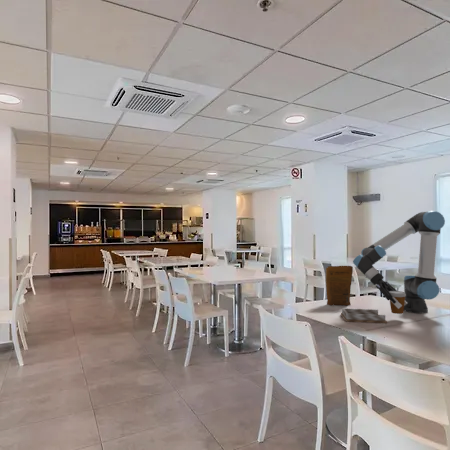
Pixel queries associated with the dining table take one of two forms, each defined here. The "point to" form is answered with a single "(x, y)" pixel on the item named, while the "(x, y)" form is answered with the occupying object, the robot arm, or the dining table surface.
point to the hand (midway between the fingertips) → (403, 305)
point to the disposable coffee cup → (400, 298)
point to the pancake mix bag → (338, 285)
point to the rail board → (362, 315)
